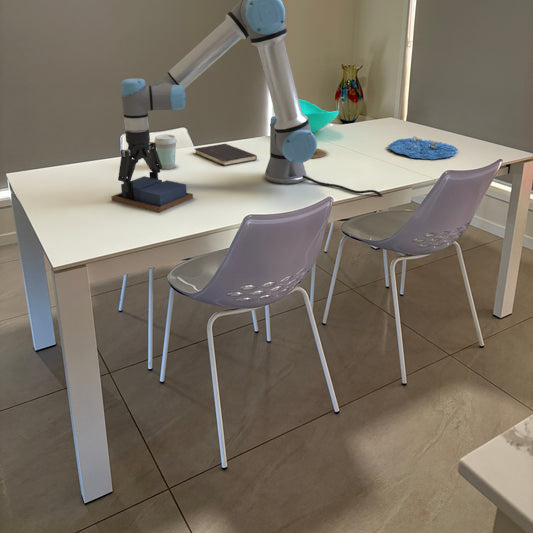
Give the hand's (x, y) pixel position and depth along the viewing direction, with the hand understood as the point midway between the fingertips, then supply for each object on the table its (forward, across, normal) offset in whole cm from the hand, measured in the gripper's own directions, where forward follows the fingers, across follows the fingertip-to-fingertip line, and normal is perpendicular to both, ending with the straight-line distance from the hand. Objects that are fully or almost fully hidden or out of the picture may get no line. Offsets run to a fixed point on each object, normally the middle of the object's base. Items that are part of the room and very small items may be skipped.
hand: (142, 195), depth 196 cm
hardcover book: (+1, -58, -8) cm, 59 cm away
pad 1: (0, 0, 0) cm, 0 cm away
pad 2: (0, 0, +9) cm, 9 cm away
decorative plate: (+1, -114, +58) cm, 128 cm away
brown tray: (+1, 0, +4) cm, 4 cm away
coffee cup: (+1, -33, -18) cm, 37 cm away
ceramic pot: (+1, -82, +17) cm, 84 cm away
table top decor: (+1, -116, -2) cm, 116 cm away
